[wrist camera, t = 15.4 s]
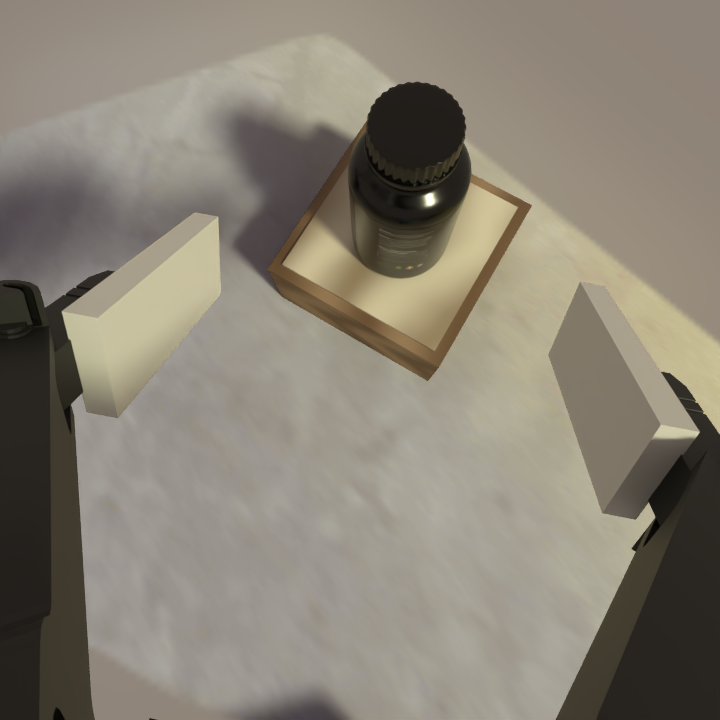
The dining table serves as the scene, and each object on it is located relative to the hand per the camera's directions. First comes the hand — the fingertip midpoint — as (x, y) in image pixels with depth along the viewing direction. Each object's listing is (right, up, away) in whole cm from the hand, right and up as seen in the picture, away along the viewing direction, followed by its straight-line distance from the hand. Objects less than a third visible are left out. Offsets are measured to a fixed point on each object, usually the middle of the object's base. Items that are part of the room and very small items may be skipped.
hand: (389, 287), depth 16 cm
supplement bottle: (+2, +7, +19) cm, 21 cm away
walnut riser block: (+2, +5, +25) cm, 26 cm away
